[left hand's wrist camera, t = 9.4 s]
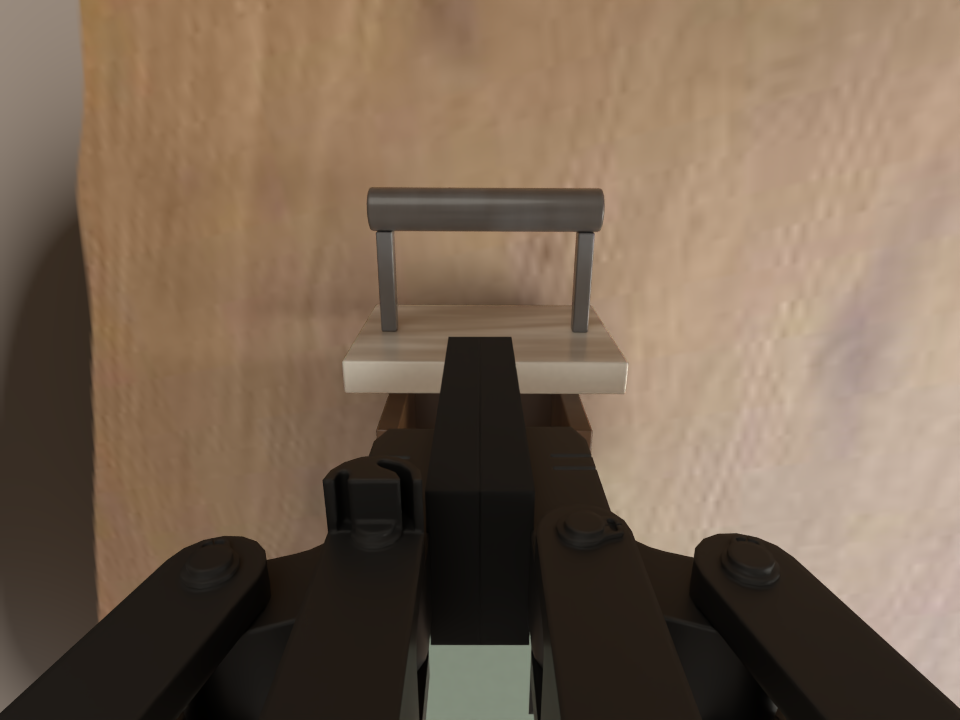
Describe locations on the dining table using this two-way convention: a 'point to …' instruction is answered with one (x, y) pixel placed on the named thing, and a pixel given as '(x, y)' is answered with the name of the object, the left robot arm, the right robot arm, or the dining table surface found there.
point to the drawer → (486, 310)
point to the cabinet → (479, 682)
